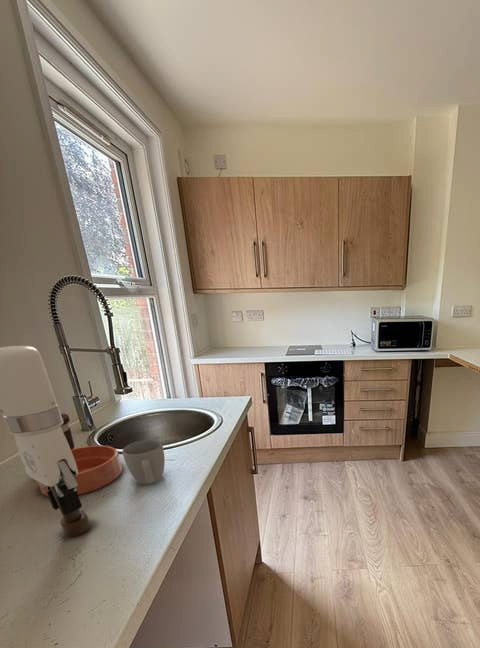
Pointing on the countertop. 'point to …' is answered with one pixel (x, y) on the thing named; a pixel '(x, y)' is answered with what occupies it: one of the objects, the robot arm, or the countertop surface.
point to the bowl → (94, 467)
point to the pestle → (73, 520)
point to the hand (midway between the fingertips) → (67, 507)
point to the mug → (145, 460)
